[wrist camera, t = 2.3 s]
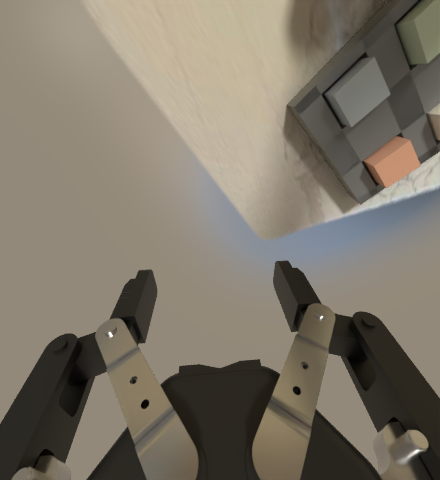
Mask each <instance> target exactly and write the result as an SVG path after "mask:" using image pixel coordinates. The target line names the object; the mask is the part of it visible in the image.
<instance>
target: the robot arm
mask: <svg viewBox="0 0 440 480" xmlns="http://www.w3.org/2000/svg"><path fill="white" fill-rule="evenodd" d="M273 283H274V288H275V291H276V294H277V296H278V299H279V301H280V304H281V306H282V309H283V312H284V314H285V317H286V319H287V322H288V325H289V327H290V330H291V332H296V331H298V333H297V335H296V336H295V338H294V341H293V344H292V346H291V349H290V351H289V354H288V356H287V359H286V361H285V364H284V366H283V369H282V372H281V374H279V373H278V372H276V371H274V370H272V369H270V368H268V367H265V366H261V363H260V359H258V360H246V361H239V362H236V363H234V364H231V365H228V366H225V367H223V368H215V367H210V366H204V365H200V364H199V365H188V366H180V367H179V373H177V374H175V375H173V376H171V377H169V378H168V379H166V380H165V381H164V382H163V383H162V384H161V385H160V384H159V382H158V380H157V379H156V377H155V375H154V373H153V371H152V370H151V368H150V366H149V364H148V363H147V361H146V359H145V357H144V355H143V354H142V352H141V350H140V348H139V347H138V344H139V343H145V341H146V337H147V333H148V329H149V325H150V321H151V317H152V313H153V309H154V305H155V301H156V297H157V286H156V282H155V278H154V275H153V271H152V270H139V271H138V274H137V276H136V279H130V280H129V281H128V283H126V284H125V286H124V288H123V290H122V293H121V295H120V297H119V300H118V302H117V304H116V306H115V308H114V311H113V313H112V315H111V317H110V319H109V320H108V321H106V322H104V323H103V324H102V325H101V326H100V327H99V328H98V329H97V331H96V332H94V333H92V334H89V335H86V336H83V337H80V338H77V337H76V336H75V335H74V334H64V335H61V336H59V337H57V338H56V339H54V340H53V341H52V342H51V343H49V344H48V346H47V347H46V348H45V350H44V352H43V353H42V355H41V357H40V358H39V360H38V362H37V363H36V365H35V367H34V369H33V370H32V372H31V373H30V375H29V377H28V378H27V380H26V382H25V383H24V385H23V387H22V389H21V390H20V392H19V394H18V395H17V397H16V399H15V400H14V402H13V404H12V405H11V407H10V409H9V410H8V412H7V414H6V415H5V417H4V419H3V420H2V422H1V424H0V480H71V471H70V468H69V467H68V466H67V465H66V464H65V461H66V459H67V456H68V453H69V450H70V447H71V444H72V442H73V438H74V436H75V433H76V430H77V427H78V424H79V422H80V419H81V416H82V413H83V410H84V407H85V404H86V401H87V399H88V396H89V393H90V390H91V387H92V384H93V381H94V379H95V376H97V375H100V374H102V373H105V372H107V373H108V376H109V378H110V381H111V384H112V386H113V389H114V391H115V394H116V397H117V399H118V402H119V405H120V407H121V410H122V413H123V415H124V418H125V420H126V423H127V425H128V427H127V428H126V429H125V431H124V432H123V433H122V434H121V436H120V437H119V438H118V440H117V441H116V442H115V444H114V445H113V446H112V447H111V449H110V450H109V451H108V453H107V454H106V455H105V456H104V458H103V459H102V460H101V462H100V463H99V464H98V465H97V467H96V468H95V469H94V471H93V472H92V473H91V475H90V476H89V477H88V478H87V480H440V398H439V397H438V395H437V394H436V393H435V392H434V390H433V389H432V388H431V386H430V385H429V384H428V383H427V381H426V380H425V378H424V377H423V376H422V374H421V373H420V372H419V370H418V369H417V368H416V366H415V365H414V364H413V362H412V361H411V360H410V358H409V357H408V356H407V354H406V353H405V352H404V350H403V349H402V348H401V346H400V345H399V344H398V343H397V341H396V340H395V338H394V337H393V336H392V335H391V333H390V332H389V331H388V329H387V328H386V327H385V325H384V324H383V323H382V321H381V320H380V319H379V318H377V317H376V316H374V315H372V314H370V313H367V312H356V313H355V314H354V315H353V317H348V316H343V315H338V314H335V313H334V312H333V311H332V310H331V309H330V308H329V307H327V306H325V305H323V304H321V302H320V300H319V299H318V297H317V295H316V293H315V292H314V290H313V288H312V287H311V285H310V283H309V282H308V280H307V279H306V277H305V275H304V273H303V272H301V271H300V270H299V269H298V268H292V266H291V264H290V263H289V261H276V263H275V270H274V277H273ZM329 353H330V354H334V355H338V356H341V358H342V360H343V362H344V364H345V366H346V368H347V370H348V372H349V374H350V376H351V378H352V380H353V383H354V384H355V387H356V389H357V391H358V393H359V395H360V397H361V399H362V401H363V403H364V405H365V407H366V409H367V411H368V413H369V416H370V418H371V419H372V422H373V424H374V426H375V428H376V430H377V432H378V434H377V435H376V436H375V438H374V442H373V445H374V451H375V454H376V457H377V460H378V467H379V469H378V472H377V471H376V470H375V468H374V467H373V466H372V464H371V463H370V462H369V461H368V460H367V459H366V458H365V457H364V456H363V455H362V454H361V453H360V452H359V451H358V450H357V449H356V448H355V447H354V446H353V445H352V444H351V443H350V442H349V441H348V440H347V439H346V438H345V437H344V436H343V435H342V434H341V433H340V432H339V431H338V430H337V429H336V428H335V427H334V426H333V425H332V424H331V423H330V422H329V421H328V420H327V419H326V418H324V416H323V415H321V413H320V412H319V411H318V410H317V409H316V405H317V400H318V396H319V392H320V388H321V383H322V379H323V375H324V371H325V367H326V362H327V358H328V354H329Z"/></svg>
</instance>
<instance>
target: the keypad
mask: <svg viewBox="0 0 440 480" xmlns="http://www.w3.org/2000/svg"><path fill="white" fill-rule="evenodd" d="M420 1H421V0H389V1H388V2H387V3H386V4H385V5H384V6H383V7H382V8H381V9H380V10H379V11H378V12H377V13H376V14H375V15H374V16H373V17H372V18H371V19H370V20H369V21H368V22H367V23H366V24H365V25H364V26H363V27H362V28H361V29H360V30H359V31H358V32H357V34H356V35H355V36H354V37H353V38H352V39H351V40H350V41H349V42H348V43H347V44H346V45H345V46H344V47H343V48H342V49H341V50H340V51H339V52H338V53H337V54H336V55H335V56H334V57H333V58H332V59H331V60H330V61H329V62H328V63H327V64H326V65H325V66H324V67H323V68H322V69H321V70H320V71H319V72H318V74H317V75H316V76H315V77H314V78H313V79H312V80H311V81H310V82H309V83H308V84H307V85H306V86H305V87H304V88H303V89H302V90H301V91H300V92H299V93H298V94H297V95H296V96H295V97H294V98H293V99H292V100H291V101H290V102H289V103H288V104H287V106H288V107H289V109H290V110H291V112H292V113H293V114H294V116H295V117H296V119H297V120H298V122H299V123H300V124H301V126H302V127H303V129H304V130H305V132H306V133H307V134H308V136H309V137H310V139H311V140H312V142H313V143H314V144H315V146H316V147H317V149H318V150H319V152H320V153H321V154H322V156H323V157H324V159H325V160H326V162H327V163H328V164H329V166H330V167H331V169H332V170H333V172H334V173H335V174H336V176H337V177H338V179H339V180H340V182H341V183H342V184H343V186H344V187H345V189H346V190H347V192H348V193H349V194H350V196H351V197H352V198H354V199H355V200H356V201H357V202H358V203H360V204H362V203H363V202H365V201H366V200H368V199H369V198H371V197H372V196H374V195H375V194H377V193H378V192H380V191H381V190H383V189H384V188H385V187H383V186H382V185H380V184H379V183H377V182H375V180H374V178H373V177H372V175H371V173H370V172H369V170H368V168H367V166H366V165H365V163H364V160H365V159H366V158H367V157H369V156H370V155H371V154H373V153H374V152H375V151H377V150H378V149H379V148H381V147H382V146H383V145H385V144H386V143H387V142H389V141H390V140H391V139H393V138H394V137H395V136H398V137H401V138H405V139H408V140H410V141H411V143H412V146H413V148H414V150H415V153H416V155H417V158H418V160H419V162H420V164H422V163H423V162H425V161H426V160H428V159H429V158H431V157H432V156H434V155H435V154H436V153H438V152H439V151H440V141H439V140H436V139H435V137H434V134H433V131H432V128H431V125H430V122H429V120H428V117H427V114H426V113H427V112H428V111H430V110H431V109H432V108H434V107H435V106H436V105H438V104H439V103H440V53H439V54H438V55H437V56H436V57H434V58H433V59H432V60H431V61H430V62H429V63H426V64H413V65H409V63H408V60H407V58H406V55H405V52H404V49H403V46H402V43H401V41H400V38H399V35H398V32H397V29H396V26H395V25H396V24H397V23H398V22H399V21H400V20H401V19H402V18H403V17H404V16H405V15H406V14H407V13H408V12H409V11H411V10H412V9H413V8H414V7H415V6H416V5H417V4H418V3H419V2H420ZM370 57H375V59H376V61H377V63H378V66H379V68H380V71H381V73H382V75H383V78H384V80H385V82H386V85H387V87H388V89H389V92H390V94H391V95H389V96H388V97H387V98H386V99H385V100H383V101H382V102H381V103H380V104H379V105H377V106H376V107H375V108H374V109H373V110H372V111H370V112H369V113H368V114H367V115H366V116H364V117H363V118H362V119H361V120H360V121H358V122H357V123H356V124H355V125H354V126H353V127H350V126H347V125H344V124H341V122H340V121H339V119H338V117H337V116H336V114H335V112H334V110H333V109H332V107H331V105H330V104H329V102H328V100H327V99H326V97H325V95H324V94H325V93H326V92H327V91H328V90H329V89H330V88H331V87H332V86H333V85H334V84H335V83H336V82H337V81H338V80H339V79H340V78H341V77H342V76H343V75H344V74H345V73H346V72H347V71H348V70H349V69H350V68H352V67H353V66H354V65H355V64H356V63H357V62H358V61H359V60H360V59H363V58H370Z"/></svg>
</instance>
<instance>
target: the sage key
mask: <svg viewBox="0 0 440 480" xmlns="http://www.w3.org/2000/svg"><path fill="white" fill-rule="evenodd" d="M395 26H396V29H397V32H398V35H399V38H400V41H401V43H402V46H403V49H404V52H405V55H406V58H407V60H408V63H409V65H413V64H426V63H429V62H430V61H431V60H432V59H433V58H434V57H436V56H437V55H438V54H439V53H440V0H421V1H420V2H419V3H418V4H417V5H416V6H415V7H414V8H413V9H412V10H411V11H409V12H408V13H407V14H406V15H405V16H404V17H403V18H402V19H401V20H400V21H399V22H398V23H397V24H396V25H395Z"/></svg>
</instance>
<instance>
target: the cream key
mask: <svg viewBox="0 0 440 480" xmlns="http://www.w3.org/2000/svg"><path fill="white" fill-rule="evenodd" d="M426 114H427V117H428V120H429V122H430V125H431V128H432V131H433V134H434V137H435V139H436V140H439V141H440V103H439V104H438V105H436V106H435V107H434V108H432V109H431V110H430V111H428V112H427V113H426Z"/></svg>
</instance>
